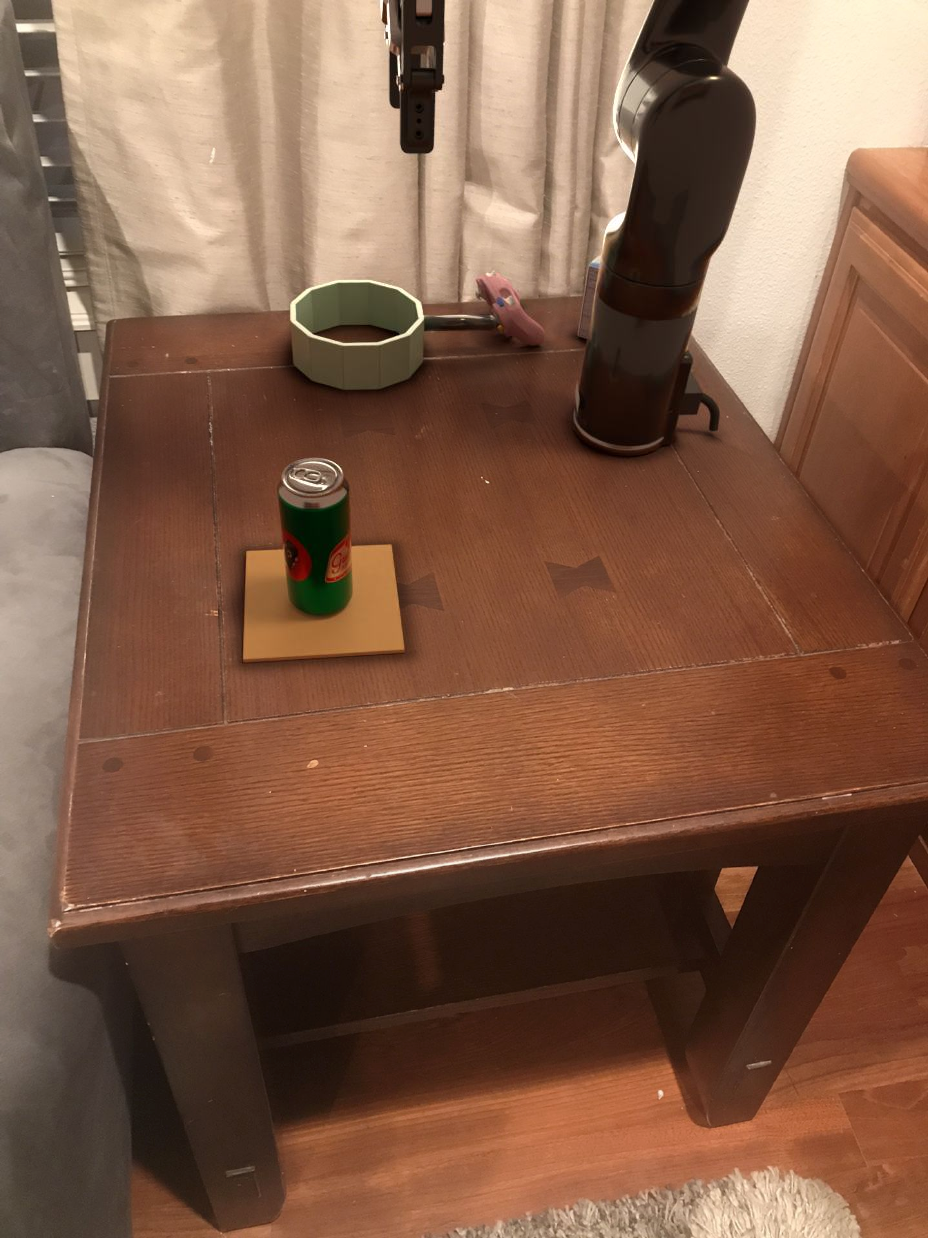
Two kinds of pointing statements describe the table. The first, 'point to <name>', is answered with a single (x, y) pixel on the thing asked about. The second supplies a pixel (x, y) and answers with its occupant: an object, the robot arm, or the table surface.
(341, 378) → the pan
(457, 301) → the table surface
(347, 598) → the soda can
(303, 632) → the cork mat
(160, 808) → the table surface
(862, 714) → the table surface
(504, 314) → the video game controller
